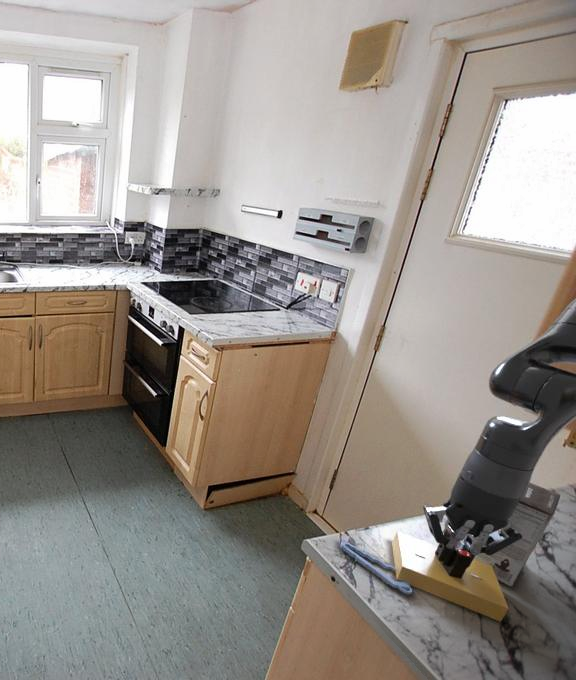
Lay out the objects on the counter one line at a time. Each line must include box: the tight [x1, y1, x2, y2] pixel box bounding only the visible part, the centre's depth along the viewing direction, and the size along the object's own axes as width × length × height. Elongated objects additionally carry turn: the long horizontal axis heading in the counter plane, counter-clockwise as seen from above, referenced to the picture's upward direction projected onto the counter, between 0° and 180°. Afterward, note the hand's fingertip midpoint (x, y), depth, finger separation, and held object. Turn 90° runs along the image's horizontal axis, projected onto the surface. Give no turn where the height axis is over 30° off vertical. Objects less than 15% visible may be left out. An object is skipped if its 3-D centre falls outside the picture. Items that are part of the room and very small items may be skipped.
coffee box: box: [474, 482, 561, 587], centre depth 81 cm, size 9×6×16 cm
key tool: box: [340, 540, 413, 595], centre depth 81 cm, size 12×1×5 cm
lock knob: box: [443, 540, 472, 579], centre depth 78 cm, size 5×2×5 cm, turn 164°
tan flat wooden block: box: [391, 530, 509, 623], centre depth 79 cm, size 14×10×3 cm
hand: (449, 563), depth 78 cm, fingers closed on lock knob, 2 cm apart
